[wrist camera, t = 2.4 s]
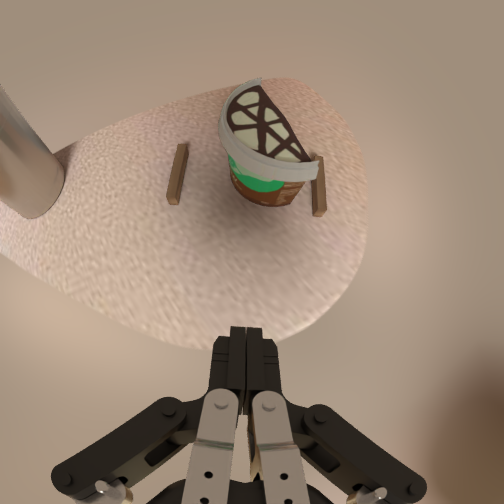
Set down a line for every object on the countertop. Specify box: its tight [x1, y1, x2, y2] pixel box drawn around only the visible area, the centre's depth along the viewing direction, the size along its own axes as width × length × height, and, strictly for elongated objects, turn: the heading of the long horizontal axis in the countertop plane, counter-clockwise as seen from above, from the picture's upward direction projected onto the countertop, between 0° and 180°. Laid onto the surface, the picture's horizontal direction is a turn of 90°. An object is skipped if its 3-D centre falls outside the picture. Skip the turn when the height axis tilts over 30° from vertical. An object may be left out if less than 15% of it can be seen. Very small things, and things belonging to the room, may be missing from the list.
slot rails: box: [166, 144, 327, 217], centre depth 30 cm, size 17×7×2 cm, turn 87°
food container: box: [218, 78, 319, 207], centre depth 26 cm, size 12×6×10 cm, turn 24°
